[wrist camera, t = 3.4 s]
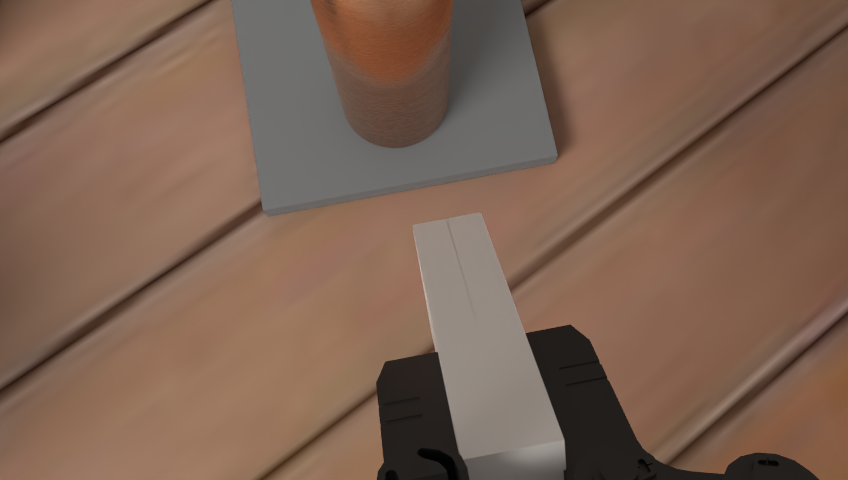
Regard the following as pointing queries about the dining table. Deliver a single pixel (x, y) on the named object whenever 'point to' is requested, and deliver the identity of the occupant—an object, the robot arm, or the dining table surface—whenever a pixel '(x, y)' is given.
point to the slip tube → (389, 65)
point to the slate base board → (361, 160)
